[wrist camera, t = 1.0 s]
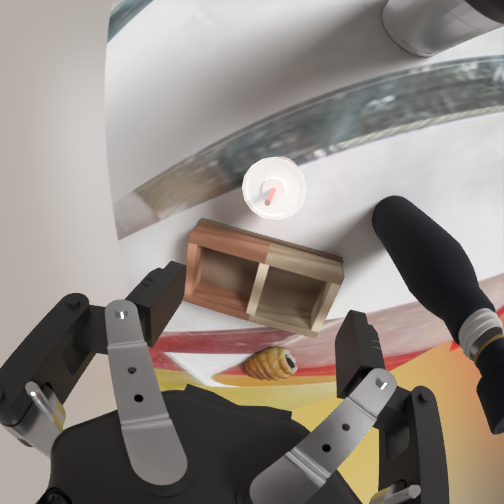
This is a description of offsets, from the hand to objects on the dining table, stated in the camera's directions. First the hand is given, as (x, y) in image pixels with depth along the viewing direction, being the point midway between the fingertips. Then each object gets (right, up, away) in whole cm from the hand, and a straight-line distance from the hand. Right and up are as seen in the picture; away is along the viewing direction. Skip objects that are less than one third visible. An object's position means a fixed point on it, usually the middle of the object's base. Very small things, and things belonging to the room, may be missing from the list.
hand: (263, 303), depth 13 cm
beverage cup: (+3, +12, +21) cm, 24 cm away
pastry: (+3, -17, +35) cm, 39 cm away
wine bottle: (+18, +7, +20) cm, 28 cm away
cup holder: (+1, 0, +27) cm, 27 cm away
